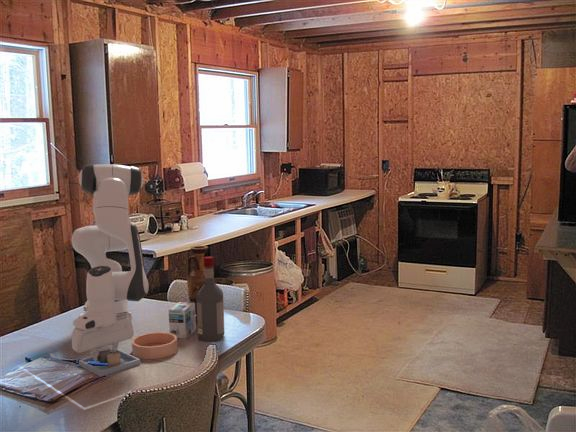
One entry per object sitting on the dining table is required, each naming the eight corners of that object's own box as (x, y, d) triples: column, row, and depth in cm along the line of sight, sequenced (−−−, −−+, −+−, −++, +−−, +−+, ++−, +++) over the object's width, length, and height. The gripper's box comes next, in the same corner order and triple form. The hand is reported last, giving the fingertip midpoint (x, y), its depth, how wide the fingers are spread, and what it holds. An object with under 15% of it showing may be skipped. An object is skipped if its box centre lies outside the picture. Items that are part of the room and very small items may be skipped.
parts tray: (79, 366, 194) (78, 360, 194) (118, 355, 204) (117, 348, 203) (100, 378, 184) (100, 371, 184) (140, 365, 194) (140, 359, 194)
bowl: (124, 352, 206) (123, 340, 205) (161, 341, 216) (160, 329, 216) (148, 363, 195) (147, 350, 195) (186, 351, 206) (185, 339, 205)
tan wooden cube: (105, 367, 192) (104, 355, 191) (116, 363, 195) (116, 351, 194) (111, 370, 189) (111, 358, 188) (123, 366, 192) (122, 354, 191)
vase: (218, 317, 244) (215, 244, 240) (212, 325, 234) (209, 249, 230) (192, 316, 245) (189, 244, 241) (184, 325, 235) (181, 249, 231)
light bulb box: (186, 338, 219) (185, 310, 217) (169, 338, 220) (167, 309, 219) (196, 329, 229) (195, 302, 228) (180, 328, 231) (178, 301, 229)
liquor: (224, 333, 224) (222, 254, 220) (223, 342, 215) (220, 259, 211) (200, 334, 224) (197, 255, 219) (197, 342, 215) (194, 260, 210)
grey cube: (96, 362, 196) (95, 350, 195) (107, 358, 199) (106, 347, 198) (102, 365, 193) (101, 353, 193) (113, 361, 196) (113, 350, 195)
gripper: (126, 308, 203) (128, 347, 205) (68, 322, 189) (70, 364, 191) (136, 311, 199) (138, 352, 201) (77, 326, 185) (80, 369, 187)
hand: (104, 358), depth 196 cm, fingers open, 4 cm apart
